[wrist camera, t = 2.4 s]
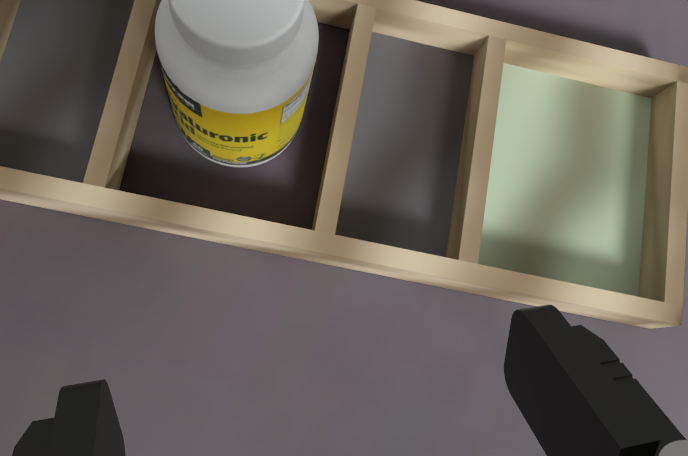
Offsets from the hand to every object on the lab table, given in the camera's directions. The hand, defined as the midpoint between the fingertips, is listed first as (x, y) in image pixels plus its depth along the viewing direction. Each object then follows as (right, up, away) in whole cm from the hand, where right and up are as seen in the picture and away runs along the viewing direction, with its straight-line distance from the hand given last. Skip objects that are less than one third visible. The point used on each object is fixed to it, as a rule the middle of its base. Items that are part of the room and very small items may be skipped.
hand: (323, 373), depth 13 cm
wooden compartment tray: (0, +7, +16) cm, 17 cm away
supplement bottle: (-4, +8, +16) cm, 18 cm away
